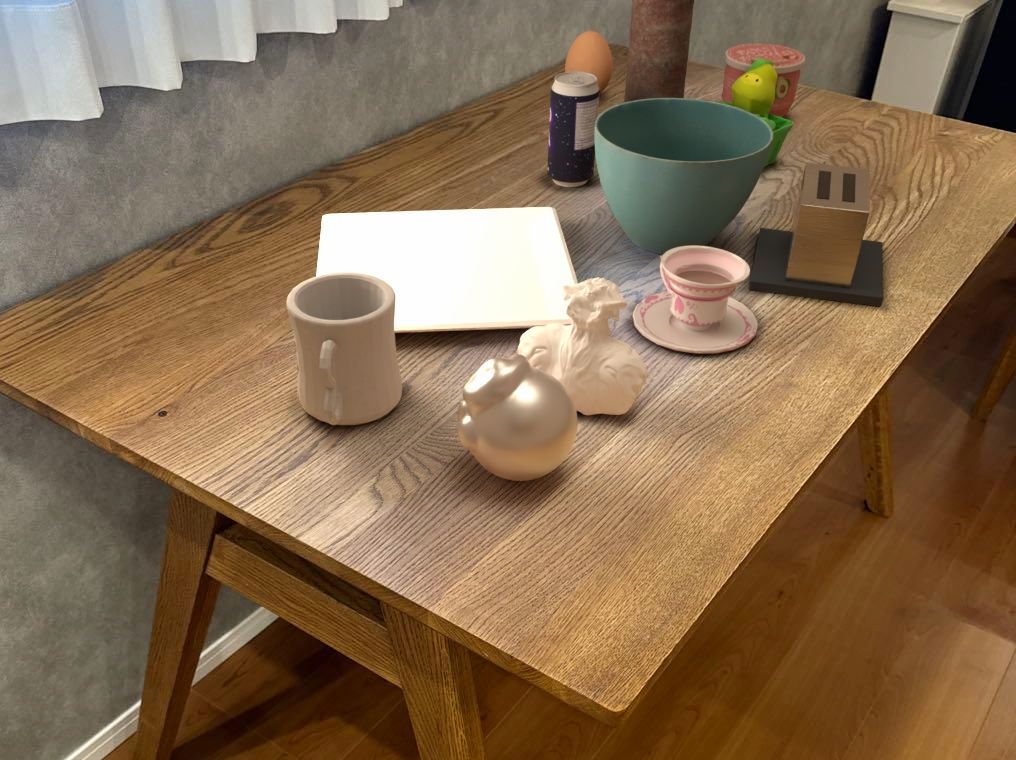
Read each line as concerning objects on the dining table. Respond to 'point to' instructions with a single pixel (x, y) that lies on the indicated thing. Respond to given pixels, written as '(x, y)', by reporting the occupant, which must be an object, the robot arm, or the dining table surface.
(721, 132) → the plant pot
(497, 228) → the plate
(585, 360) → the bust
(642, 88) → the candle
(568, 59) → the egg
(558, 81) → the beverage can
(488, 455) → the cream glossy round piece
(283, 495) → the dining table surface
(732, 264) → the teacup
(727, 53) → the container
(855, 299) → the mat
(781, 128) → the fruit basket
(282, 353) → the dining table surface
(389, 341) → the mug
